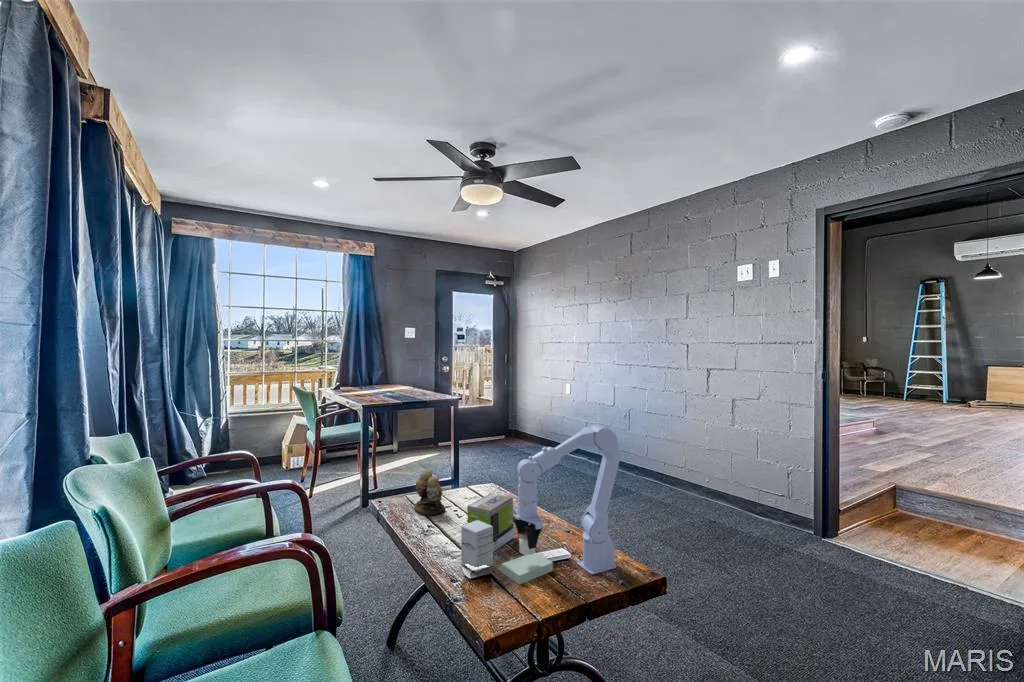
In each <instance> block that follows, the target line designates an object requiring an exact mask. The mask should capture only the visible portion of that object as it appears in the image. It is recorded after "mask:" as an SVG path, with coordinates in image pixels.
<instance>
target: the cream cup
mask: <svg viewBox="0 0 1024 682" xmlns="http://www.w3.org/2000/svg"><path fill="white" fill-rule="evenodd" d="M518 540H519V541H518V542H519V544H518V547H519V549H518V551H519V552H518V553H520V554H521V555H531V554H534V553H536V548H533V549H529V547H528V538H527V533H526V532H521V533H520V534H519V536H518Z"/></svg>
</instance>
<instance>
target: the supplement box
mask: <svg viewBox="0 0 1024 682" xmlns="http://www.w3.org/2000/svg"><path fill="white" fill-rule="evenodd" d="M460 527H461V535H460V536H461V538H460V539H461V541H460V542H461V543H460V544H461V545H460V546H461V547H460V548H461V550H460V551H461V553H460V558H461V563H460V564H461V566H463V565H465V564H469V565H471V566H474V567H479V566H482V565H487V566H490V567H492V566H493V565H494V557H493V556H494V552H493V526H491V525H489V524H486V523H484V522H481V521H479V520H476V521H473V522H471V523H468V522H467V523H466V524H463V525H461V526H460ZM463 567H464V566H463Z"/></svg>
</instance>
